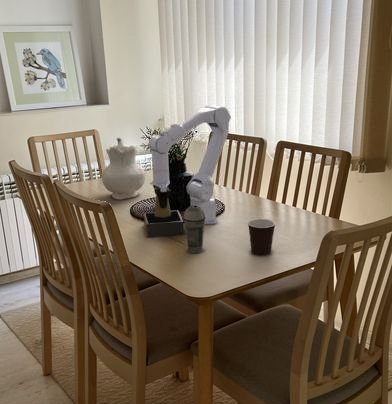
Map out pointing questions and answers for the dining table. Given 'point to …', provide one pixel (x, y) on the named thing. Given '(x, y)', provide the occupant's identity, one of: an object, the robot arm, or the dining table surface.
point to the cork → (161, 211)
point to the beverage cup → (194, 227)
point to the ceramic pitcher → (123, 172)
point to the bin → (163, 224)
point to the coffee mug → (261, 236)
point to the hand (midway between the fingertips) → (162, 205)
